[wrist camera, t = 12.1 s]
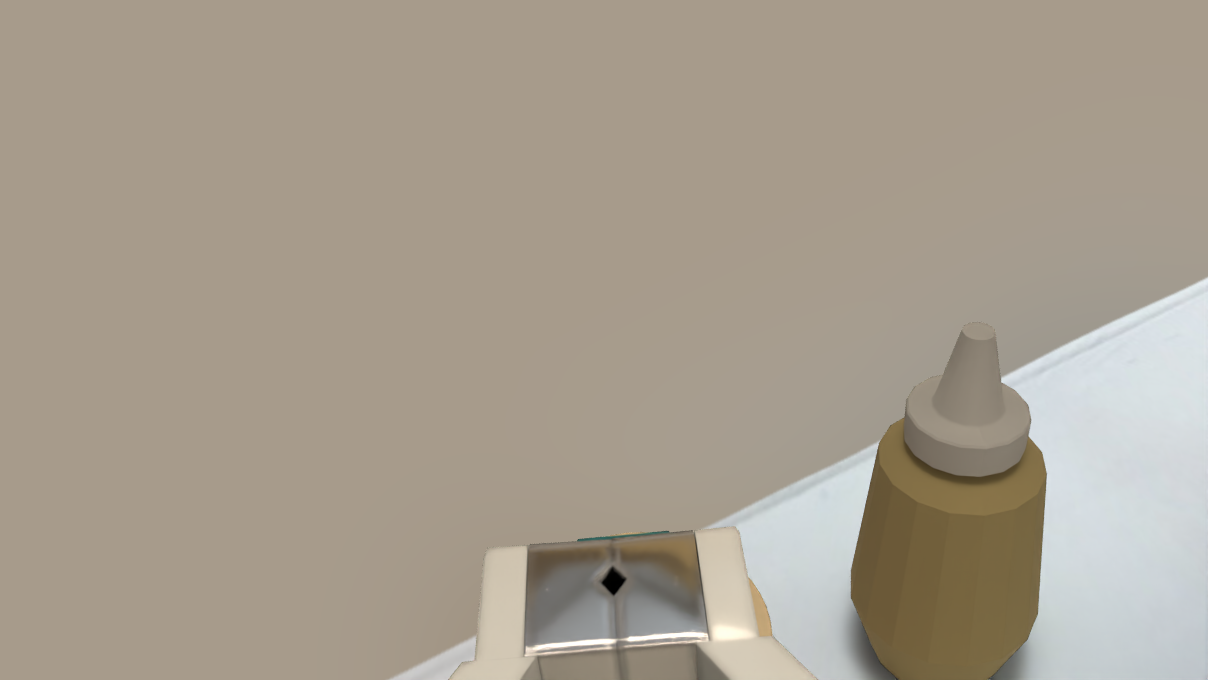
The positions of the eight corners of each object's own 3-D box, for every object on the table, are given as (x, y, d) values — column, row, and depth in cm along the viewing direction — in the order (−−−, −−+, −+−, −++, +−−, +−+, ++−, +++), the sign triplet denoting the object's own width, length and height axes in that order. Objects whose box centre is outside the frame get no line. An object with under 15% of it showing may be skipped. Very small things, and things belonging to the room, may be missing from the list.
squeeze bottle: (863, 561, 53) (886, 262, 42) (1032, 600, 50) (1101, 287, 39) (829, 689, 47) (846, 377, 36) (1018, 741, 44) (1094, 418, 33)
